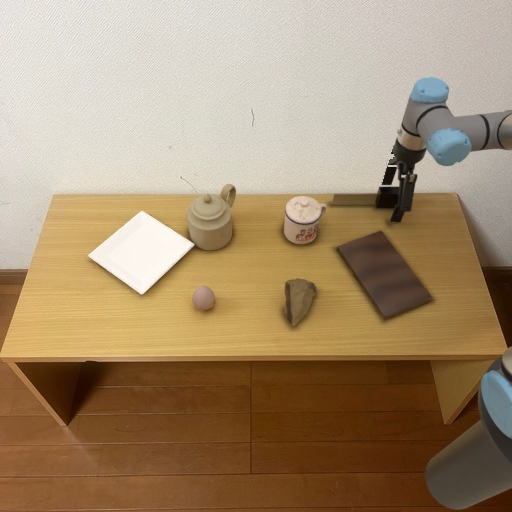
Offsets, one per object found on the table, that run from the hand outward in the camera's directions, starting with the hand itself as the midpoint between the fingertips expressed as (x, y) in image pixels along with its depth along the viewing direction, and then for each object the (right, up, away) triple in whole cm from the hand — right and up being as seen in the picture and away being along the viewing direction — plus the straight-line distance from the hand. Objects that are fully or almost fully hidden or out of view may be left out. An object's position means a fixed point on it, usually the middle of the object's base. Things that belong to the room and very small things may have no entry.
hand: (390, 202), depth 130 cm
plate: (-65, -14, -10) cm, 67 cm away
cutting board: (-6, -19, -13) cm, 24 cm away
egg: (-49, -26, -19) cm, 58 cm away
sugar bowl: (-48, -8, -5) cm, 49 cm away
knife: (-6, -1, +1) cm, 6 cm away
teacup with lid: (-24, -8, -5) cm, 26 cm away
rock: (-26, -26, -18) cm, 41 cm away
